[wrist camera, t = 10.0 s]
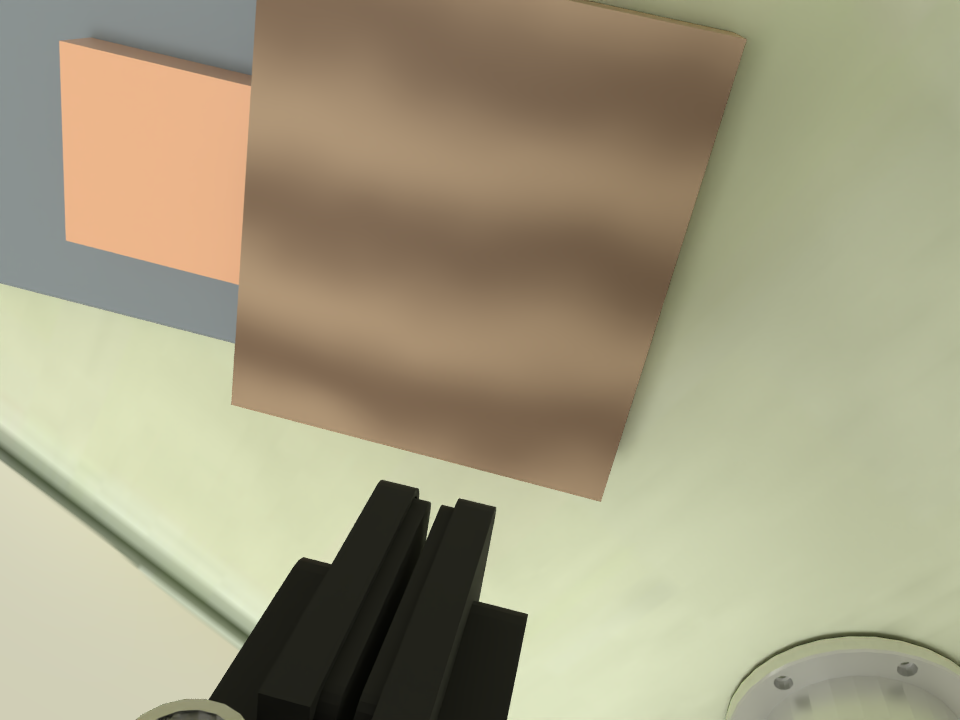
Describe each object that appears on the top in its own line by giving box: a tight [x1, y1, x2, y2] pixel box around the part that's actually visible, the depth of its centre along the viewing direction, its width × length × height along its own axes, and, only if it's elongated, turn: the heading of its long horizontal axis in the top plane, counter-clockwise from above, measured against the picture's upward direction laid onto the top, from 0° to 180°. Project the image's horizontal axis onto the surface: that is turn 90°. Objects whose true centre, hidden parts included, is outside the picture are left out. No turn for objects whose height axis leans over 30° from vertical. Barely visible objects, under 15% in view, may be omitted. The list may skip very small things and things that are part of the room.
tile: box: [59, 37, 252, 285], centre depth 33 cm, size 8×8×2 cm
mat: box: [0, 0, 256, 343], centre depth 35 cm, size 16×14×1 cm
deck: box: [231, 0, 747, 502], centre depth 32 cm, size 18×16×4 cm
